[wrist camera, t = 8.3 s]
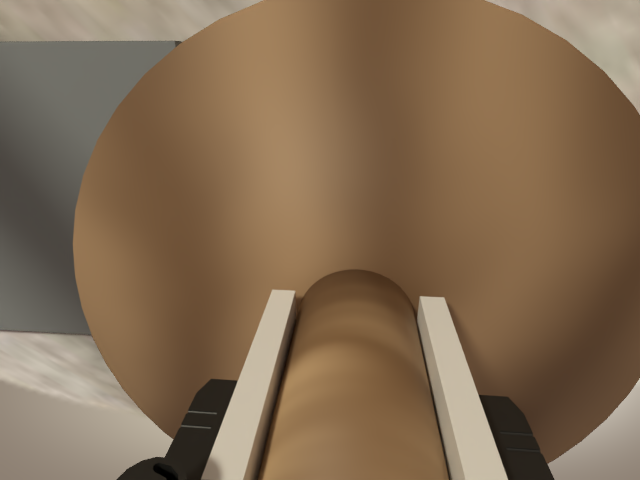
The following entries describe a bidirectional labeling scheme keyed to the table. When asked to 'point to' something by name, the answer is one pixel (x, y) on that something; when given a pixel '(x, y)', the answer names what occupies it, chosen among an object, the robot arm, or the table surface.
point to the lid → (369, 226)
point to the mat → (53, 165)
